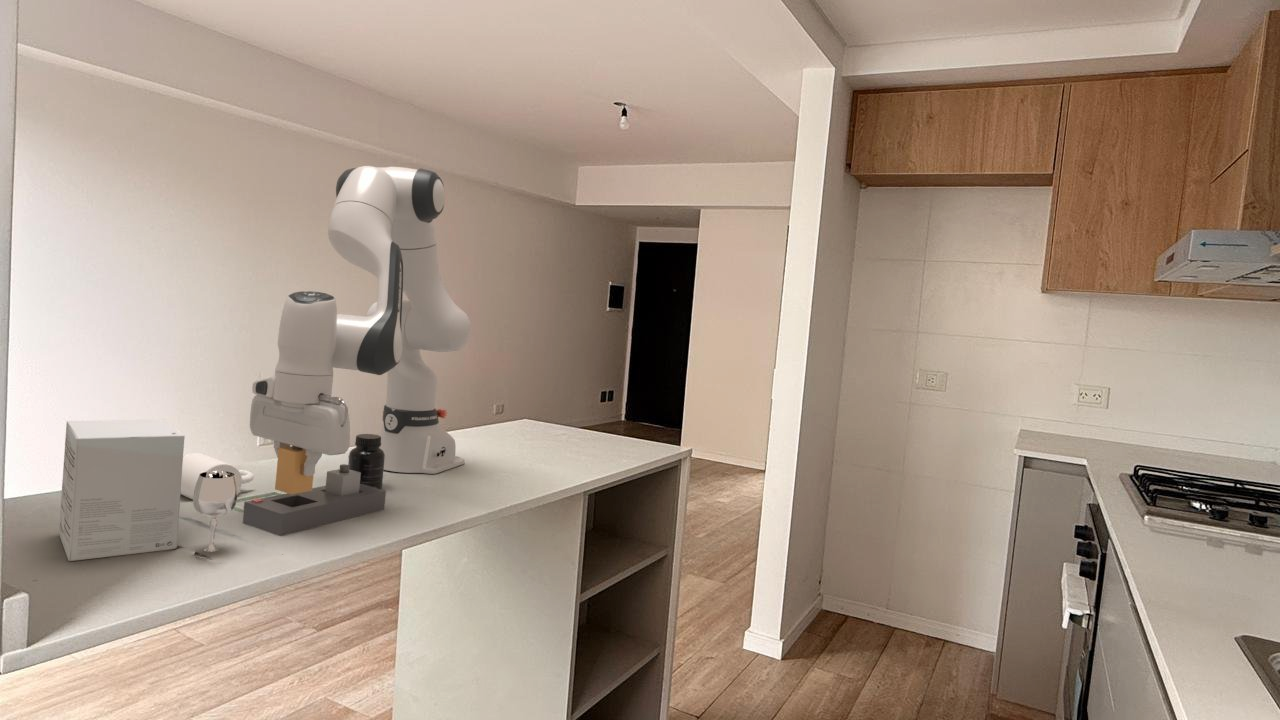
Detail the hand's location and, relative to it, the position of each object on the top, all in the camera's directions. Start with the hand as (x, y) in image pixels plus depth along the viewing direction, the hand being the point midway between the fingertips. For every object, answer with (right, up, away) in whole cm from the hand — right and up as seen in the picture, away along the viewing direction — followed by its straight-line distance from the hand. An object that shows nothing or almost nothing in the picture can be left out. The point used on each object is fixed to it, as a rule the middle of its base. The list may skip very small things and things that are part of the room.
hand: (295, 471), depth 126 cm
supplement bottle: (+2, -9, +26) cm, 28 cm away
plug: (0, -3, 0) cm, 3 cm away
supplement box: (-21, -9, -13) cm, 26 cm away
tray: (-9, -8, +8) cm, 15 cm away
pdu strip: (+1, -10, +5) cm, 11 cm away
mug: (-21, -7, +13) cm, 25 cm away
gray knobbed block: (+4, -8, +10) cm, 13 cm away
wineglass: (-7, -11, -13) cm, 18 cm away
